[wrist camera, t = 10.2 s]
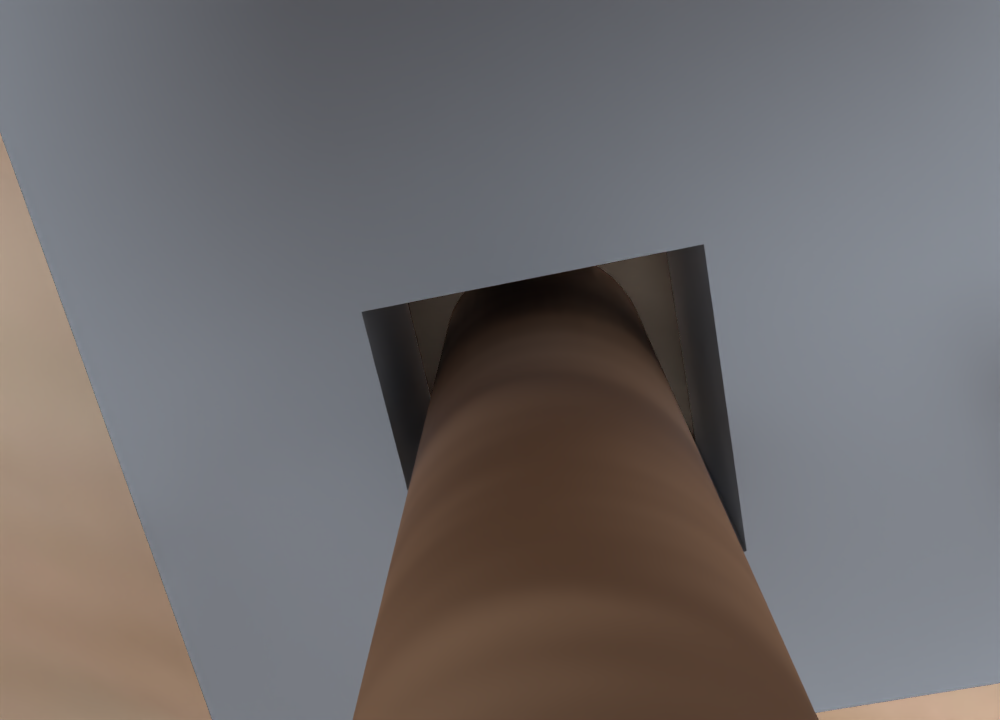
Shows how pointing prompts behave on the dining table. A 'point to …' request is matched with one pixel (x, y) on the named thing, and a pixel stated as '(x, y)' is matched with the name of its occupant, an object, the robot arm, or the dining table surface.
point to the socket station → (523, 255)
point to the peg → (567, 535)
